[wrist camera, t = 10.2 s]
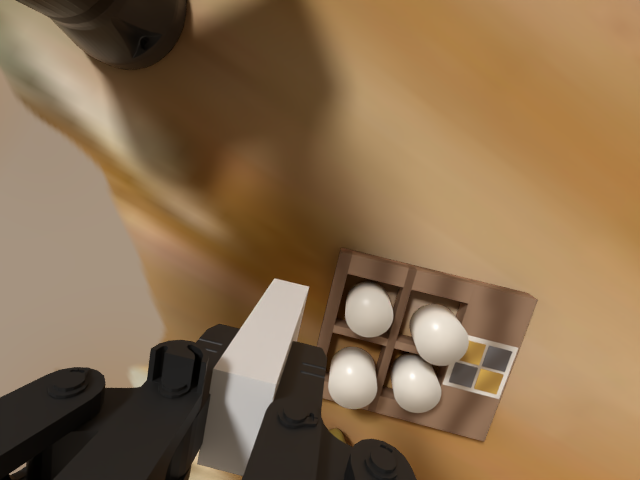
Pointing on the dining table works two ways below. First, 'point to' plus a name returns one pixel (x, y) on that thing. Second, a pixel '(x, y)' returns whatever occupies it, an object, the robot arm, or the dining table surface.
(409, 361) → the cream rounded oval
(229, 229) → the dining table surface
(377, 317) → the white egg
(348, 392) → the white egg
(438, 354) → the white egg
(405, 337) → the egg tray
